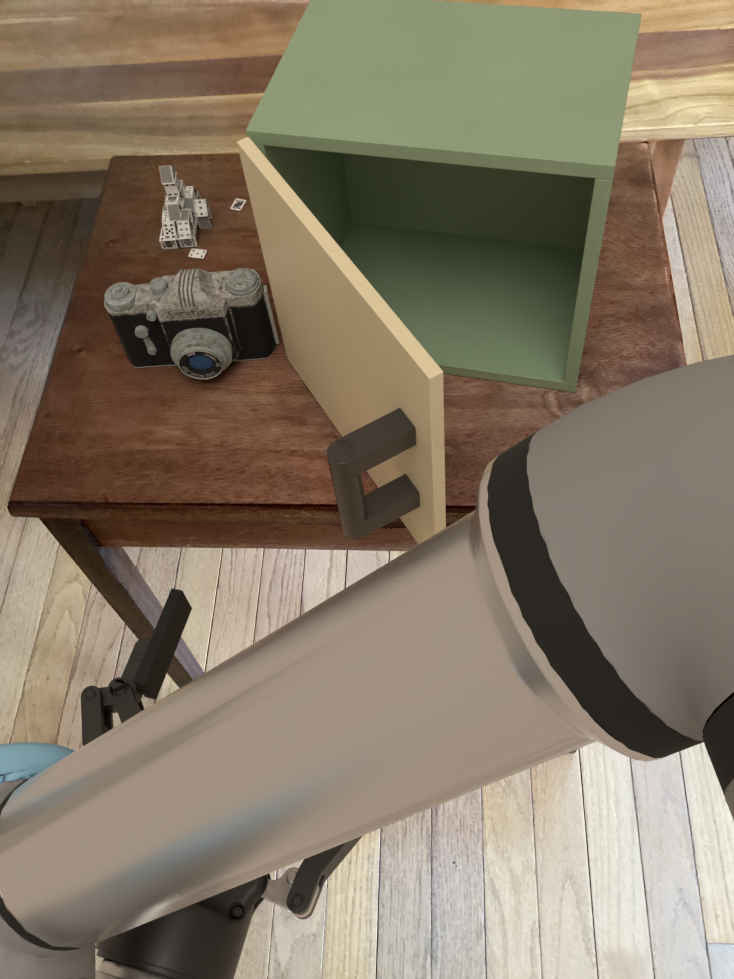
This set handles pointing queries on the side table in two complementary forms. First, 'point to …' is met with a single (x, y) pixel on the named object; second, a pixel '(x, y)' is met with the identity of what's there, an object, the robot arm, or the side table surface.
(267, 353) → the camera
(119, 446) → the side table surface
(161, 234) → the house of cards
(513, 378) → the cupboard
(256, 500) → the side table surface
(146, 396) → the side table surface
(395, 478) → the cupboard door
